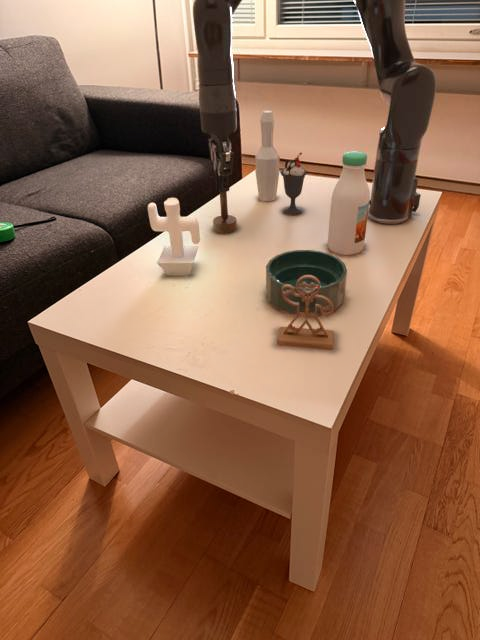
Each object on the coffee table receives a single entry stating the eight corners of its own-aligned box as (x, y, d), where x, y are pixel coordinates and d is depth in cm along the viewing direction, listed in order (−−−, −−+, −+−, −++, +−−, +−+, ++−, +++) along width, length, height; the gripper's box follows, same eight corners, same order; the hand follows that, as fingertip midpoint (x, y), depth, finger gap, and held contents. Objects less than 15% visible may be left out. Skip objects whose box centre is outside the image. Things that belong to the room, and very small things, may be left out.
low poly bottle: (257, 193, 129) (255, 108, 116) (279, 194, 128) (281, 108, 115) (254, 202, 124) (252, 114, 111) (278, 202, 123) (279, 114, 110)
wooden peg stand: (233, 222, 114) (230, 162, 105) (239, 231, 109) (237, 169, 101) (211, 226, 113) (206, 165, 104) (217, 235, 108) (212, 172, 100)
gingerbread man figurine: (333, 334, 76) (339, 270, 69) (332, 349, 73) (339, 284, 66) (279, 330, 77) (280, 267, 70) (276, 345, 74) (277, 280, 67)
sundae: (304, 216, 115) (307, 155, 106) (278, 215, 116) (278, 154, 107) (307, 206, 120) (310, 147, 111) (281, 205, 121) (282, 146, 113)
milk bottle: (342, 259, 97) (351, 162, 85) (320, 245, 102) (326, 152, 91) (371, 250, 99) (384, 155, 88) (348, 236, 105) (358, 146, 93)
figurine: (200, 279, 92) (193, 207, 83) (154, 279, 93) (142, 208, 84) (205, 261, 98) (198, 193, 89) (161, 261, 99) (151, 193, 90)
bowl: (323, 271, 93) (325, 244, 89) (357, 309, 82) (361, 280, 78) (256, 284, 90) (255, 257, 86) (282, 325, 79) (282, 295, 75)
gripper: (245, 112, 91) (247, 197, 101) (226, 99, 101) (230, 177, 112) (207, 116, 89) (214, 202, 99) (193, 102, 100) (200, 181, 110)
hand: (222, 188), depth 105 cm, fingers closed
